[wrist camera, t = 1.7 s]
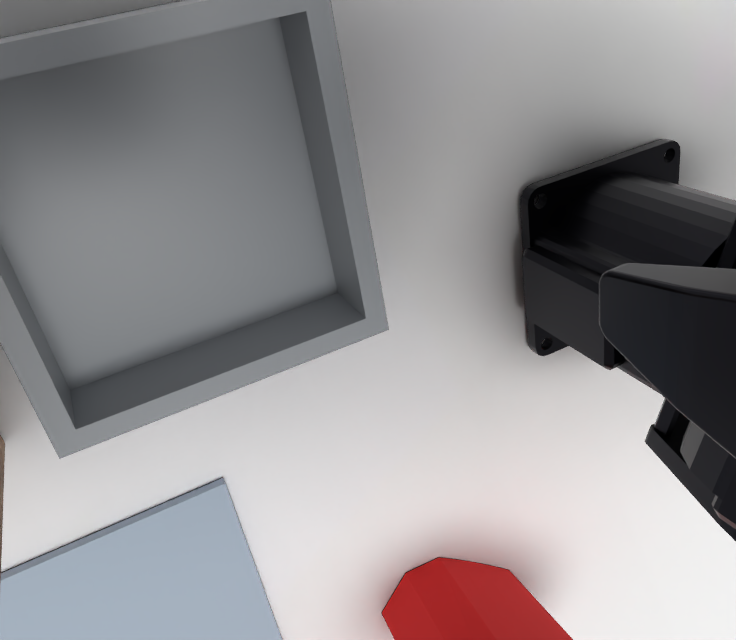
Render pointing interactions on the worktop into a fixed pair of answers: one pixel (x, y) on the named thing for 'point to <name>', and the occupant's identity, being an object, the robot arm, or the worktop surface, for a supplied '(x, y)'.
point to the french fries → (466, 605)
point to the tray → (177, 210)
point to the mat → (145, 580)
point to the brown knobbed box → (1, 491)
